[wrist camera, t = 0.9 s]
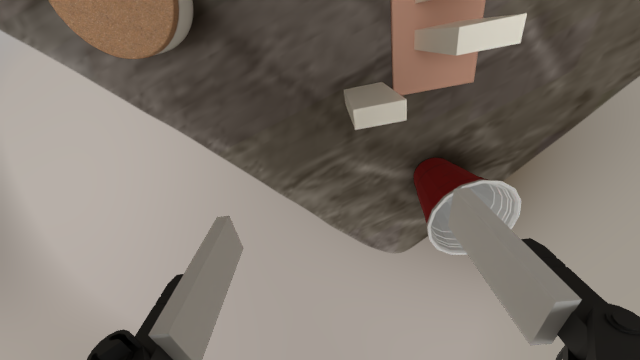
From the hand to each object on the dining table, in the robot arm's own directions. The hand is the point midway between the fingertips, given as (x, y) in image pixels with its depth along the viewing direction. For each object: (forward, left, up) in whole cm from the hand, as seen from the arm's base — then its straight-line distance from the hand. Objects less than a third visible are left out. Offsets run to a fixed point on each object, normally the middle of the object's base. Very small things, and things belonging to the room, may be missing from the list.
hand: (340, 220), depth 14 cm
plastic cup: (+12, +15, -22) cm, 29 cm away
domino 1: (-2, +5, -22) cm, 22 cm away
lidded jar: (-16, -16, -22) cm, 32 cm away
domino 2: (-7, +14, -21) cm, 26 cm away
